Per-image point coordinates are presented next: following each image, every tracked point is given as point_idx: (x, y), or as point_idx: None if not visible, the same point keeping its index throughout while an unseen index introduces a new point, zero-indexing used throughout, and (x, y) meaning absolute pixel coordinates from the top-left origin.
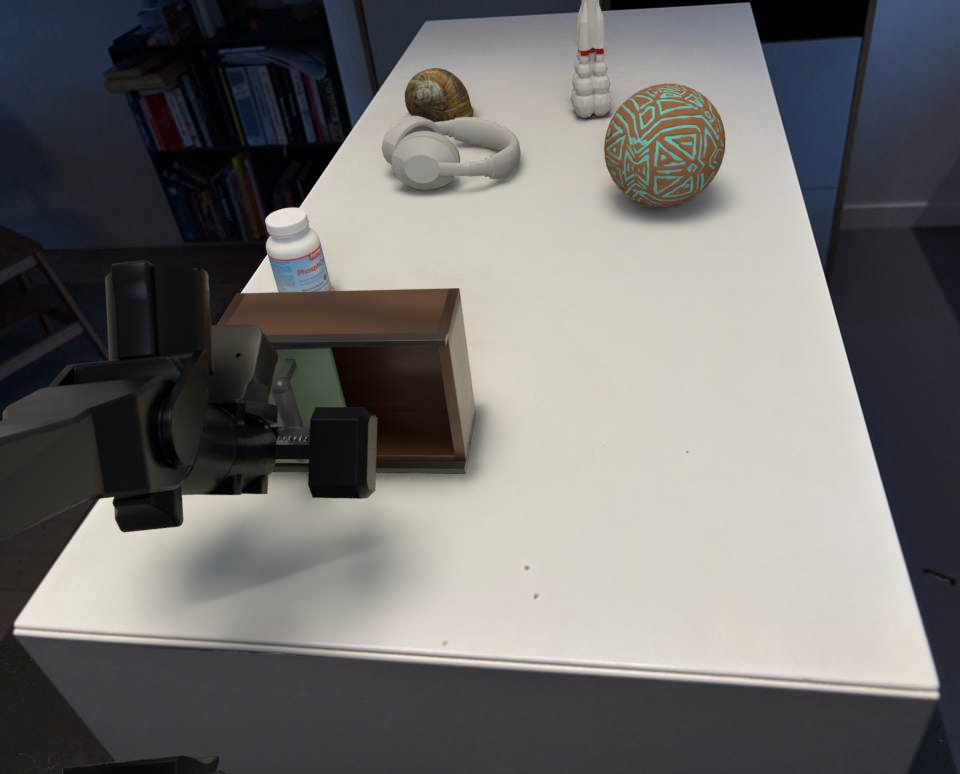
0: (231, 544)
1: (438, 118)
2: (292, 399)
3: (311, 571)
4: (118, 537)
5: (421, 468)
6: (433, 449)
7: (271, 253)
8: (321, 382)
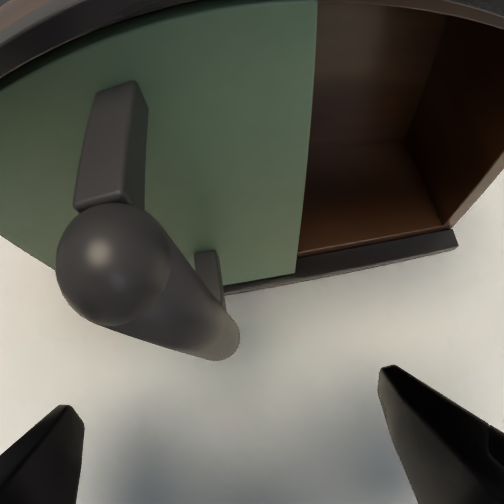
0: (144, 468)
1: None
2: (191, 294)
3: (304, 500)
4: (8, 442)
5: (402, 257)
6: (407, 217)
7: None
8: (248, 148)
